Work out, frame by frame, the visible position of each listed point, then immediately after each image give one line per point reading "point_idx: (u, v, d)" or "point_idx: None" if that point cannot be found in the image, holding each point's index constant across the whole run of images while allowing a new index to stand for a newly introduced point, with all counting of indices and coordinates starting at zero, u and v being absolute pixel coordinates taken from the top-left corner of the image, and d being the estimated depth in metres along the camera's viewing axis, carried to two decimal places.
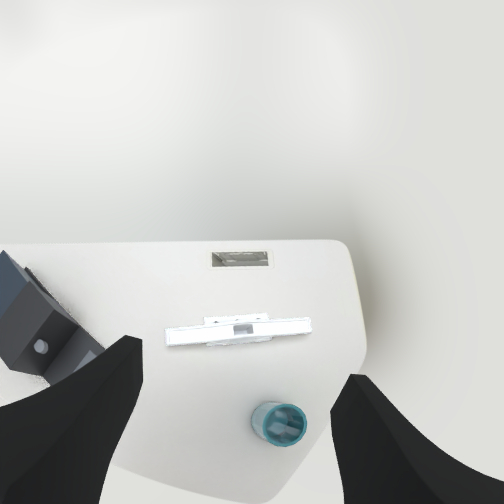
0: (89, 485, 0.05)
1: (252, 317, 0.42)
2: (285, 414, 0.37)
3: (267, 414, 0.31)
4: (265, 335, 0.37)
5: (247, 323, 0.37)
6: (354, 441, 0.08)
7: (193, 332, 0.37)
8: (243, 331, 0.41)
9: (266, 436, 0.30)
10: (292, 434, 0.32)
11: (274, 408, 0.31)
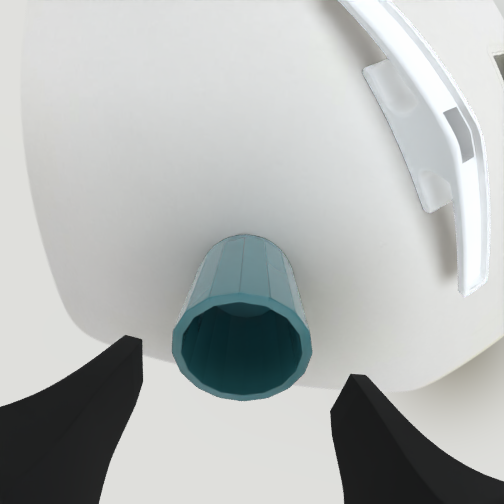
0: (89, 485, 0.05)
1: None
2: None
3: (257, 298, 0.10)
4: (461, 198, 0.11)
5: (474, 143, 0.10)
6: (354, 441, 0.08)
7: (386, 19, 0.10)
8: None
9: (185, 319, 0.11)
10: (226, 358, 0.14)
11: (284, 310, 0.10)
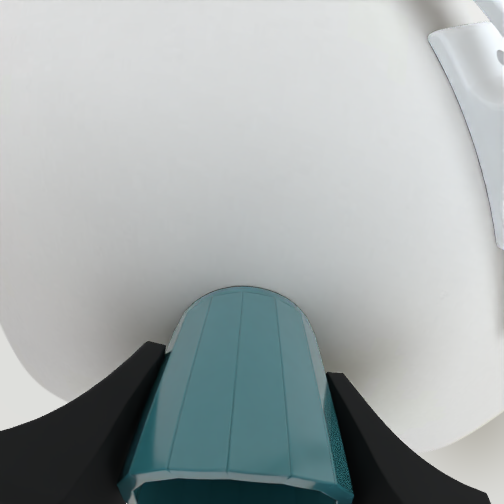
0: (117, 496, 0.05)
1: None
2: None
3: (264, 476, 0.04)
4: None
5: None
6: None
7: None
8: None
9: (131, 481, 0.04)
10: None
11: (317, 485, 0.04)
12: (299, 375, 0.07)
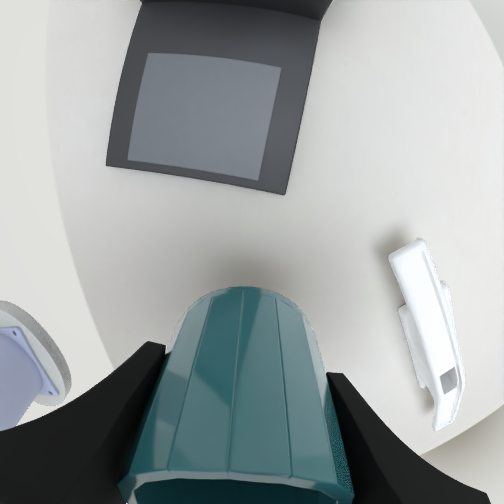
0: (117, 495, 0.05)
1: None
2: None
3: (265, 476, 0.04)
4: (438, 409, 0.16)
5: (458, 383, 0.15)
6: None
7: (431, 302, 0.15)
8: None
9: (131, 481, 0.04)
10: None
11: (317, 485, 0.04)
12: (299, 375, 0.07)
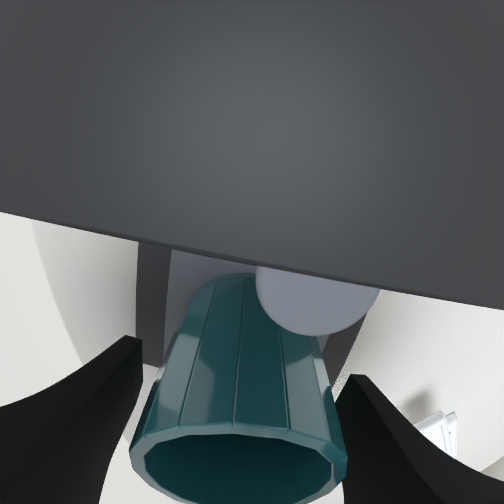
0: (89, 485, 0.05)
1: (452, 453, 0.18)
2: None
3: (265, 429, 0.05)
4: None
5: None
6: (354, 441, 0.08)
7: None
8: None
9: (143, 443, 0.05)
10: (217, 450, 0.09)
11: (313, 442, 0.05)
12: (296, 348, 0.08)
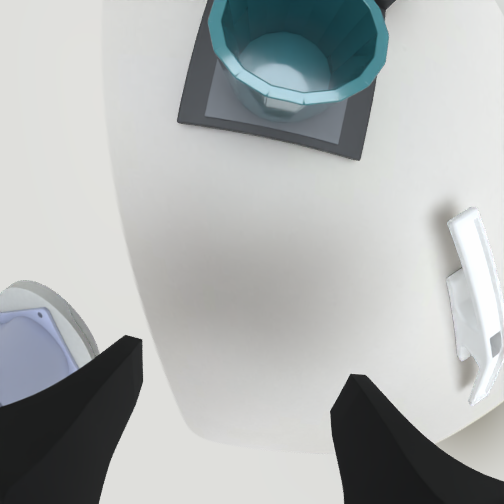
0: (89, 485, 0.05)
1: None
2: None
3: None
4: (483, 376, 0.16)
5: (502, 348, 0.15)
6: (354, 441, 0.08)
7: (482, 266, 0.14)
8: None
9: None
10: None
11: None
12: None
